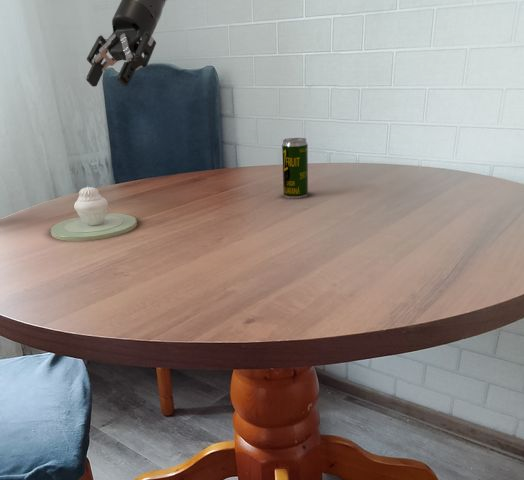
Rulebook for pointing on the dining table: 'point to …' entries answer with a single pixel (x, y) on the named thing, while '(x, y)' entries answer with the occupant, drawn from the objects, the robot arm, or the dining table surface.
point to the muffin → (91, 206)
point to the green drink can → (295, 167)
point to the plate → (93, 228)
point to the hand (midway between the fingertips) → (106, 83)
